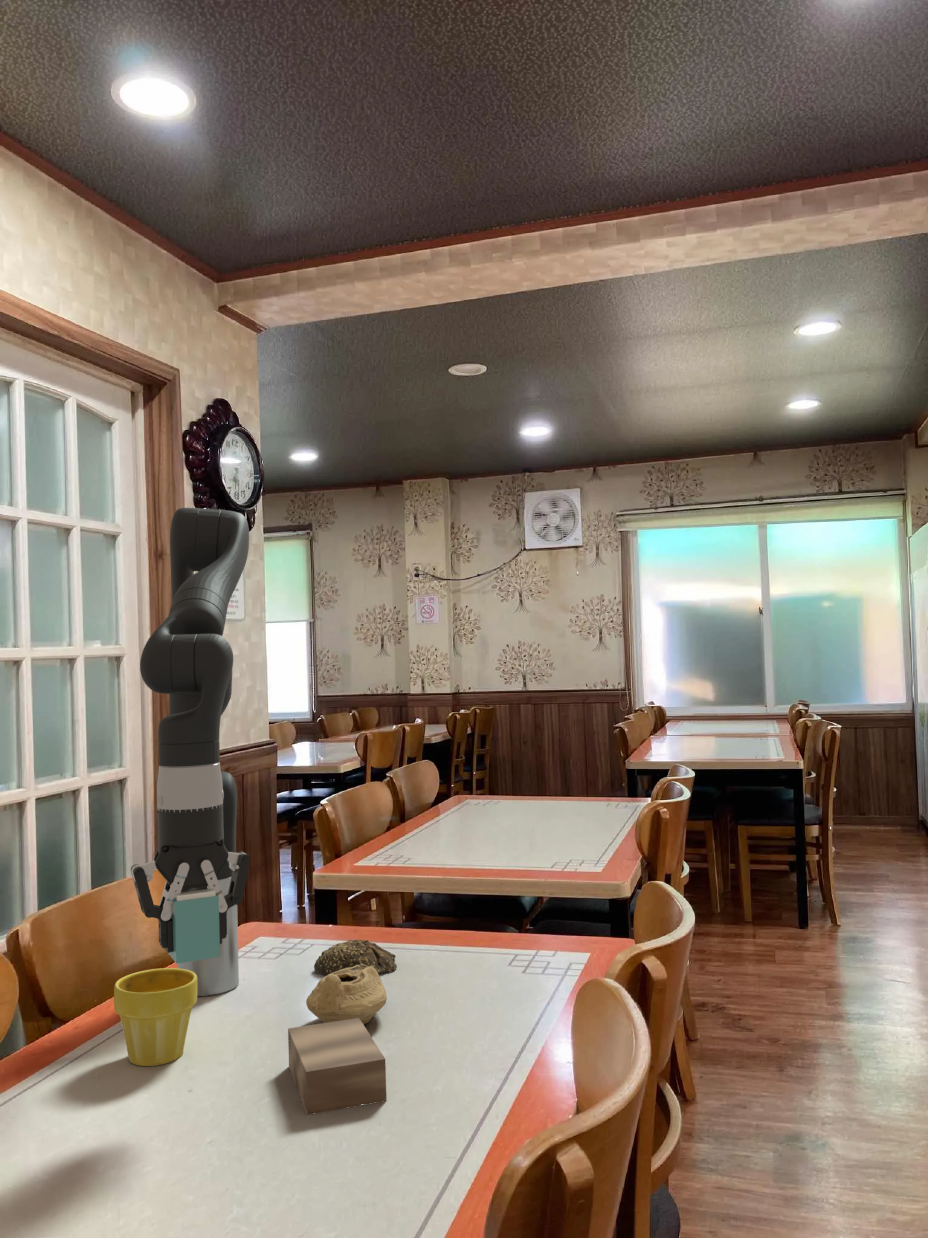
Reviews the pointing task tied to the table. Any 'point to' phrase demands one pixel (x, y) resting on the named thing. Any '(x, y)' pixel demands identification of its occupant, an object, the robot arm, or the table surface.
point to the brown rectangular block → (336, 1065)
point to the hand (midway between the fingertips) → (193, 946)
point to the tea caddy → (195, 925)
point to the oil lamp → (348, 995)
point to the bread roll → (354, 957)
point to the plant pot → (155, 1013)
